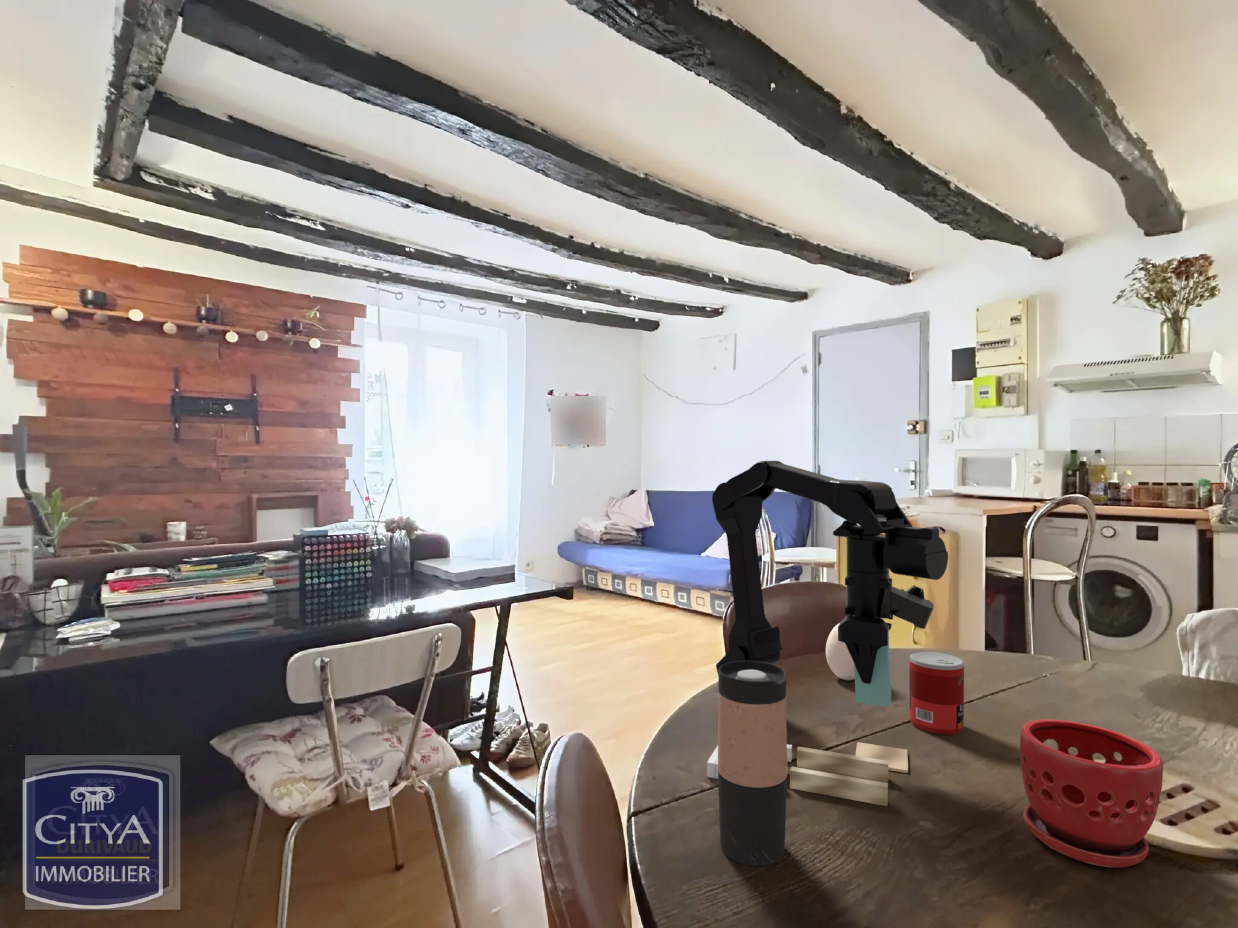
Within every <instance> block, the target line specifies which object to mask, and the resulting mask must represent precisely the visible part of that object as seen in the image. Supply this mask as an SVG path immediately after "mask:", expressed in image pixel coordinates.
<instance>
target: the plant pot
mask: <svg viewBox="0 0 1238 928" xmlns="http://www.w3.org/2000/svg"><path fill="white" fill-rule="evenodd" d="M1019 739H1020V741H1019V757H1020V758H1019V759H1020V760H1019V761H1020V765H1021V772H1022V783H1023V788H1024V791H1025V794H1026V797H1027V799H1028V801H1029V804H1028V805H1027V806H1025V807H1024V810H1023V821H1024V822H1025V825H1026V826H1027V828H1028V829H1029V830H1030V832H1031V833H1032V834H1033V835H1034V836H1035V837H1036V838H1037V839H1039V840H1040V841H1041V842H1042V843H1043V844H1045V845H1046V846H1047V848H1049V849H1052V850H1054V851H1056V852H1058V853H1060V854H1062V855H1063V856H1066V857H1069V858H1071V859H1074V860H1076V861H1079V862H1082V863H1085V864H1089V865H1094V866H1099V867H1104V868H1125V867H1127V868H1128V867H1131V866H1135V865H1137V864H1139V863H1141V862H1143V861H1144V860H1145V859H1146V857H1147V856H1148V854H1149V851H1150V848H1149V844H1148V841H1147V840H1146V838H1145V836H1146V835H1147V833H1148V832H1149V830H1150V829H1151V828H1152V826H1153V824H1154V821H1155V819H1156V816H1157V813H1158V809H1159V802H1160V797H1161V794H1162V790H1163V789H1162V788H1163V777H1164V775H1163V773H1164V762H1163V759H1162V757H1161V755H1160V754H1159V753H1158V752H1157V751H1156V750H1154V749H1153V748H1152V747H1150V746H1149V745H1147V744H1145V743H1144V742H1141V741H1140V740H1137V739H1136V738H1132V737H1130V736H1128V735H1126V734H1123V733H1120V732H1117V731H1114V730H1112V729H1111V730H1110V729H1109V728H1104V727H1102V726H1097V725H1093V724H1088V723H1083V722H1077V721H1071V720H1064V719H1049V718H1048V719H1037V720H1031V721H1029V722H1025V724H1023V725H1022V727H1021V730H1020V738H1019ZM1047 740H1053V741H1055V743H1056V745H1057V749H1056V748H1053V747H1050V746H1048V745H1047V744H1045V742H1046V741H1047ZM1070 748H1075V749H1076V750H1077V752H1076V753H1075V754H1072V753H1070V752H1069V749H1070ZM1115 753H1118V754H1119V755H1120V756H1121V760H1119V759H1117V758H1116V756H1115ZM1095 754H1099V755H1101V756H1102V757H1103V758H1105V762H1099V761H1095V760H1094V758H1093V757H1094V755H1095Z"/></svg>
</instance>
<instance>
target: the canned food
mask: <svg viewBox="0 0 1238 928" xmlns="http://www.w3.org/2000/svg"><path fill="white" fill-rule="evenodd" d="M909 719H910V722H911V724H912V725H913V726H914V727H915V728H917V729H920V730H922V731H924V732H927V733H932V734H937V735H948V736H949V735H956V734H959V733H960V732H962V730H963V728H964V724H965V723H964V722H965V720H964V719H965V665H964V660H962V659H961V658H959V657H957V656H954V655H951V654H948V653H942V652H935V651H919V652H913V653H912V654H910V655H909Z"/></svg>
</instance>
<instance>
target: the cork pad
mask: <svg viewBox="0 0 1238 928" xmlns="http://www.w3.org/2000/svg"><path fill="white" fill-rule="evenodd" d="M854 756H861V757H867V758H873V759H879V760H885V761H888V771H892V772H899V773H904V774H908V773H909V761H908V749H904V748H900V747H899V748H898V747H897V748H896V747H892V746H891V747H890V746H887V745H886V746H885V745H884V746H883V745H877V744H872V743H865V742H858V741H857V743H856V750H855V755H854Z"/></svg>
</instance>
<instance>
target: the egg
mask: <svg viewBox="0 0 1238 928" xmlns="http://www.w3.org/2000/svg"><path fill="white" fill-rule="evenodd" d="M839 624H840V622H838V624H836V625H835V626H834V627H833V628H832V630H831V631H830V633H829V635H828V636H827V640H826V643H825V657H826V661H827V664H828V667H829V668H830V670H831V671H832V673H833V674H834V675H835V676H836V677H838V678H839V679H841V680H845V681H852V680H855V671H854V662H853V660H852V657H851V655H850V653H849V651H848V649H847V647H846V644H845V642H841V641H838V626H839Z"/></svg>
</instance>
